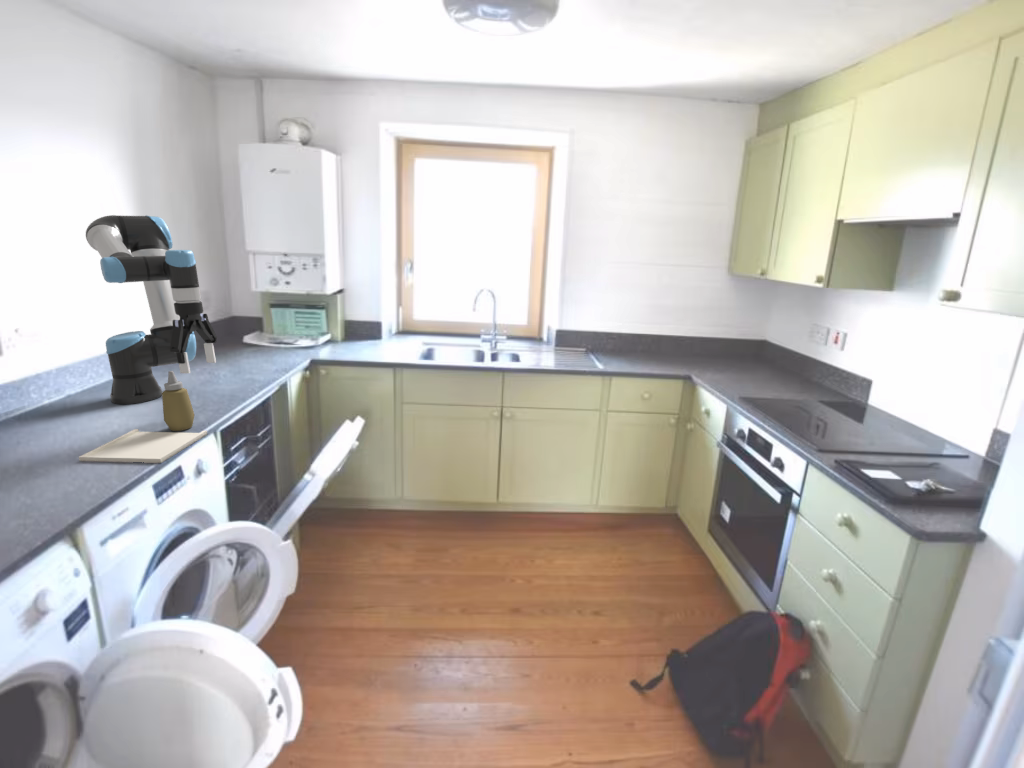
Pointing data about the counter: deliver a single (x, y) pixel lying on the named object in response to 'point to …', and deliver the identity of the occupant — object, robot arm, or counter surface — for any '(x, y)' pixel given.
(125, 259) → the robot arm
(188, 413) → the squeeze bottle
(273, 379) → the counter surface
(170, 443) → the tray
